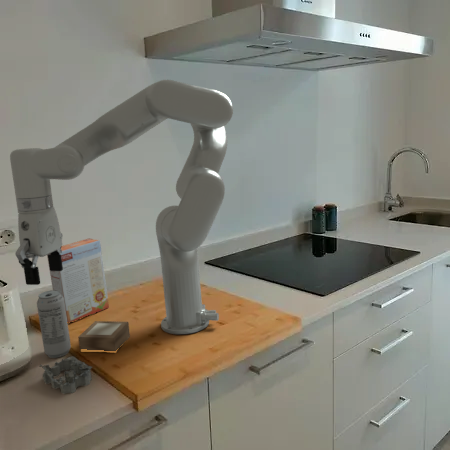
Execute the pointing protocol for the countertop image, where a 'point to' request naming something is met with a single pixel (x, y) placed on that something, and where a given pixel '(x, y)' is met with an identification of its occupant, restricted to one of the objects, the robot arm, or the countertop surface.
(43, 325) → the energy drink can
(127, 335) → the rectangular tray
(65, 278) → the cracker box
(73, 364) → the egg carton
